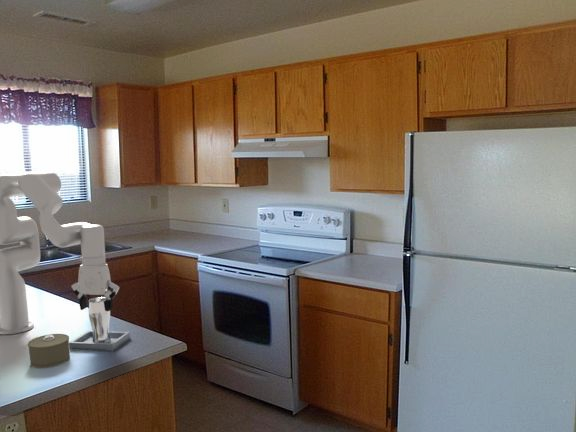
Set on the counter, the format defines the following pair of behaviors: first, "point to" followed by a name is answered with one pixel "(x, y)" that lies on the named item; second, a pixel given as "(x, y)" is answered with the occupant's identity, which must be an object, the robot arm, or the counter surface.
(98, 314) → the beer glass
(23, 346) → the counter surface
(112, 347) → the tray
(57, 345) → the can
